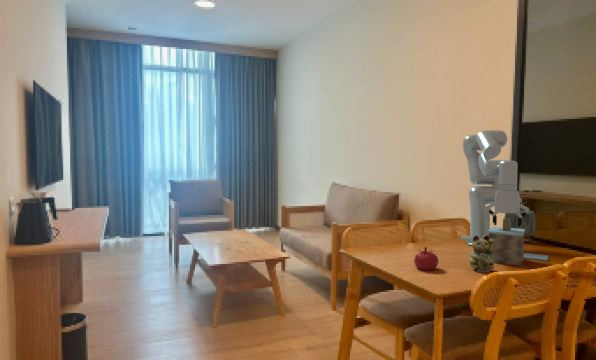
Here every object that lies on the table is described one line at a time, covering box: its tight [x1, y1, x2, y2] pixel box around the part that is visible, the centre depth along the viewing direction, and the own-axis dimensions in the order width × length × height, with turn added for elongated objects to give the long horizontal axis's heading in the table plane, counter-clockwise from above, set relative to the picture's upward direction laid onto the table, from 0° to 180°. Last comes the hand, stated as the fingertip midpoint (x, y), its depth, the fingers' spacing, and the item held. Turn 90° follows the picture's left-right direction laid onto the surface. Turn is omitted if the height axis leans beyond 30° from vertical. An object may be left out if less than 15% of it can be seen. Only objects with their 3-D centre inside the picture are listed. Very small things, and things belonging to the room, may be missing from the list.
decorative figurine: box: [468, 235, 495, 273], centre depth 172 cm, size 10×8×15 cm
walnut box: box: [489, 233, 525, 266], centre depth 187 cm, size 13×13×13 cm
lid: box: [488, 218, 525, 236], centre depth 187 cm, size 14×14×6 cm
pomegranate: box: [413, 246, 440, 271], centre depth 174 cm, size 10×10×9 cm
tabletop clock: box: [503, 196, 537, 243], centre depth 230 cm, size 14×9×25 cm, turn 49°
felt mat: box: [523, 252, 549, 262], centre depth 193 cm, size 10×10×1 cm
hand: (507, 225), depth 187 cm, fingers open, 9 cm apart
